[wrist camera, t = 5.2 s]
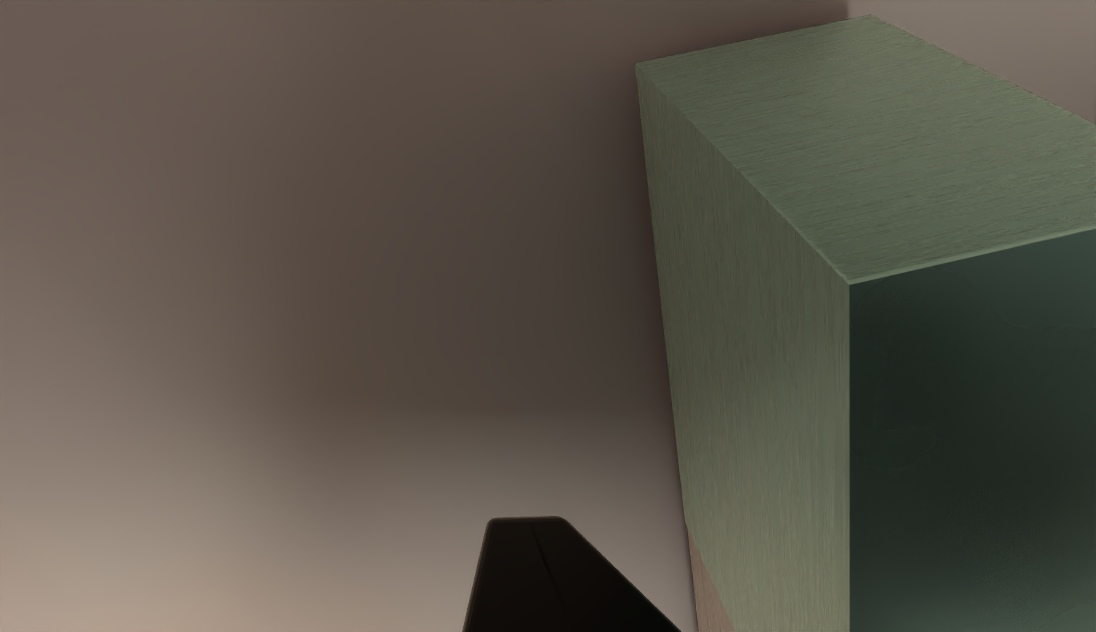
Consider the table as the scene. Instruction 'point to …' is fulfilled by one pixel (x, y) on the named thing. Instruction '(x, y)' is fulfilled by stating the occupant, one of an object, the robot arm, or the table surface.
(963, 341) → the bar
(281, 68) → the table surface
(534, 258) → the table surface
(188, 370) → the table surface
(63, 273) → the table surface
